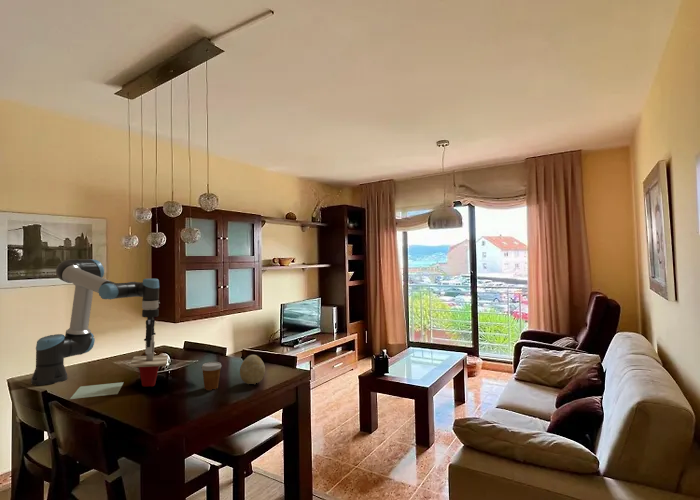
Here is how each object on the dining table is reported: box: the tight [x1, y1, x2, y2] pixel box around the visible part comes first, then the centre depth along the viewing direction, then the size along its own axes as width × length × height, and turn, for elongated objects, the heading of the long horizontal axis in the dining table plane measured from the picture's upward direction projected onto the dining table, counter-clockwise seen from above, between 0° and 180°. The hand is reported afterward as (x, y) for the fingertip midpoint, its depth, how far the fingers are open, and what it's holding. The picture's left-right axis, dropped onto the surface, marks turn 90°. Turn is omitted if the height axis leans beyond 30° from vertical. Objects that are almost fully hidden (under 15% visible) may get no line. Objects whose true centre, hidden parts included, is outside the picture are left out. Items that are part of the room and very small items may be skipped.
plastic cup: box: [138, 366, 160, 388], centre depth 198 cm, size 11×11×12 cm
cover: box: [128, 341, 169, 368], centre depth 198 cm, size 16×16×10 cm
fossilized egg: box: [239, 354, 266, 385], centre depth 201 cm, size 13×13×15 cm
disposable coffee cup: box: [201, 361, 223, 391], centre depth 194 cm, size 10×10×12 cm
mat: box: [69, 381, 124, 400], centre depth 189 cm, size 19×19×1 cm
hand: (149, 350), depth 198 cm, fingers open, 13 cm apart
